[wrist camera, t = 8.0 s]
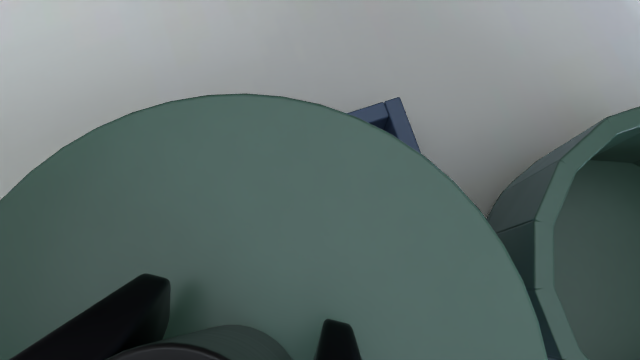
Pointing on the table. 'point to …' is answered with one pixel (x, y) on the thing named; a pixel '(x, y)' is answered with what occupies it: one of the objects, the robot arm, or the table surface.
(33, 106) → the table surface
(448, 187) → the lid
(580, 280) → the pot
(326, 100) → the table surface
